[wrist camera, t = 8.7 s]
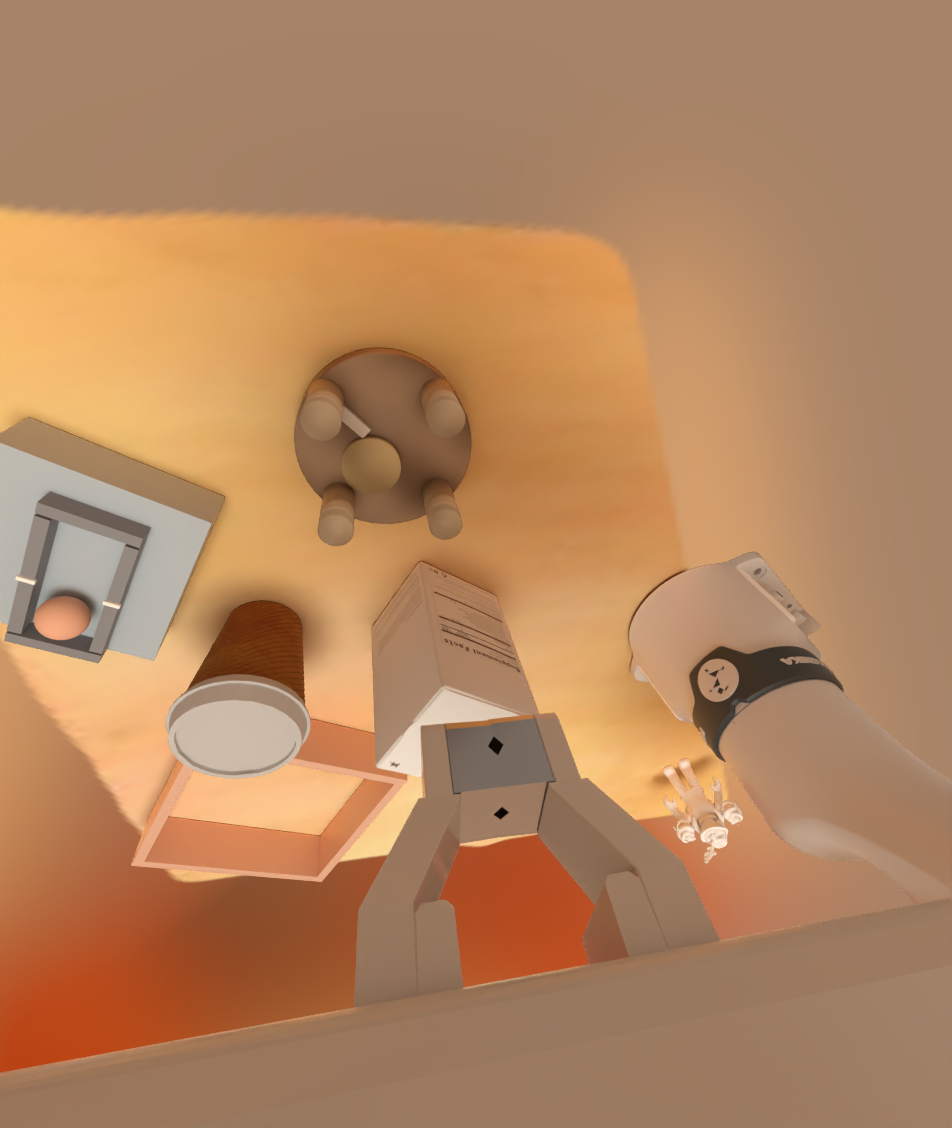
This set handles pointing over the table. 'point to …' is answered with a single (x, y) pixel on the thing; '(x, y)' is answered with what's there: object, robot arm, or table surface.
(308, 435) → the dial
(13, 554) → the stand
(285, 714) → the disposable coffee cup
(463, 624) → the supplement box
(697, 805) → the flower shoulder figurine
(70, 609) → the indicator ball
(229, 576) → the table surface
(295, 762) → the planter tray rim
